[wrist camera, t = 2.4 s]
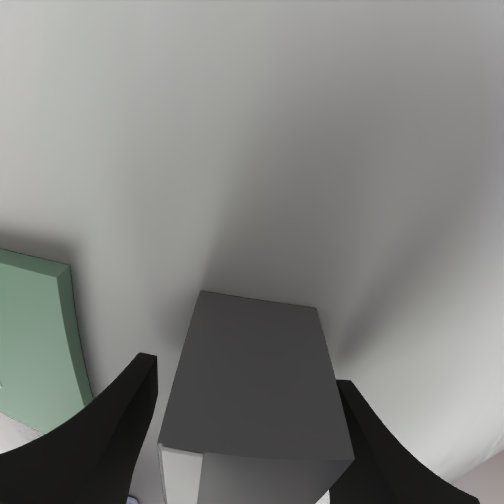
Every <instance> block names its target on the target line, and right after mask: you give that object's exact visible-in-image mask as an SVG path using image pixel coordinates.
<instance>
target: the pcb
mask: <svg viewBox="0 0 504 504" xmlns="http://www.w3.org/2000/svg"><path fill="white" fill-rule="evenodd" d="M91 401H93V397H92V393H91V389H90V385H89V381H88V377H87V372H86V368H85V363H84V358H83V354H82V349H81V343H80V338H79V332H78V326H77V320H76V313H75V306H74V299H73V291H72V282H71V272H70V265H67V264H62V263H58V262H53V261H49V260H45V259H40V258H36V257H32V256H28V255H23V254H19V253H15V252H11V251H7V250H3V249H0V412H1V413H3V414H5V415H6V416H8V417H10V418H12V419H14V420H16V421H18V422H20V423H22V424H24V425H27V426H29V427H31V428H33V429H35V430H37V431H40V432H42V433H44V434H47V433H48V432H50V431H52V430H53V429H55V428H56V427H58V426H60V425H61V424H63V423H64V422H66V421H67V420H69V419H70V418H71V417H73V416H74V415H76V414H77V413H78V412H79V411H81V410H82V409H83V408H84V407H86V406H87V405H88V404H89V403H90V402H91Z"/></svg>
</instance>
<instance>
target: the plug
mask: <svg viewBox="0 0 504 504" xmlns="http://www.w3.org/2000/svg"><path fill="white" fill-rule="evenodd" d="M157 445H158V455H159V464H160V472H161V480H162V488H163V495H164V501H165V504H315V503H316V502H317V501H318V500H319V499H320V498H321V497H322V496H323V495H324V494H325V493H326V492H327V491H328V489H329V488H330V487H331V486H332V485H333V484H334V483H335V482H336V481H337V480H338V478H339V477H340V476H341V475H342V474H343V473H344V472H345V470H346V469H347V468H348V467H349V466H350V464H351V463H352V462H353V461H354V460H355V457H354V453H353V448H352V444H351V440H350V435H349V431H348V427H347V423H346V419H345V415H344V411H343V407H342V402H341V399H340V395H339V391H338V387H337V383H336V379H335V375H334V371H333V368H332V364H331V360H330V356H329V353H328V349H327V345H326V342H325V338H324V334H323V331H322V327H321V324H320V320H319V316H318V313H317V309H316V308H312V307H304V306H297V305H290V304H283V303H276V302H269V301H262V300H255V299H249V298H242V297H236V296H230V295H224V294H218V293H212V292H206V291H200V293H199V296H198V299H197V303H196V306H195V309H194V313H193V316H192V319H191V323H190V326H189V329H188V333H187V336H186V340H185V343H184V347H183V350H182V354H181V357H180V361H179V364H178V368H177V371H176V375H175V378H174V382H173V386H172V389H171V393H170V397H169V400H168V404H167V408H166V412H165V415H164V419H163V423H162V427H161V431H160V434H159V438H158V442H157Z"/></svg>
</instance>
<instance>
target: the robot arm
mask: <svg viewBox="0 0 504 504" xmlns="http://www.w3.org/2000/svg"><path fill="white" fill-rule="evenodd" d="M336 383H337V387H338V391H339V395H340V399H341V402H342V407H343V411H344V415H345V419H346V423H347V427H348V431H349V435H350V440H351V444H352V448H353V453H354V457H355V460H354V461H353V462H352V463H351V464H350V466H349V467H348V468H347V469H346V470H345V472H344V473H343V474H342V475H341V476H340V477H339V478H338V480H337V481H336V482H335V483H334V484H333V485H332V486H331V487H330V488H329V494H330V504H480V502H479V500H478V499H477V498H476V497H474V496H471V495H469V494H467V493H465V492H463V491H461V490H459V489H457V488H456V487H454V486H452V485H451V484H449V483H448V482H446V481H444V480H443V479H441V478H440V477H439V476H437V475H436V474H434V473H433V472H432V471H430V470H429V469H428V468H427V467H425V466H424V465H423V464H422V463H421V462H419V461H418V460H417V459H416V458H415V457H414V456H413V455H412V454H411V453H410V452H409V451H407V450H406V449H405V448H404V447H403V446H402V444H401V443H400V442H399V441H398V440H397V439H396V438H395V437H394V436H393V435H392V433H391V432H390V431H389V430H388V429H387V428H386V426H385V425H384V424H383V423H382V421H381V420H380V419H379V418H378V416H377V415H376V414H375V412H374V411H373V410H372V408H371V407H370V406H369V404H368V403H367V402H366V400H365V399H364V398H363V396H362V395H361V393H360V392H359V391H358V389H357V388H356V387H355V385H354V384H353V383H352V381H351V380H336ZM157 396H158V375H157V356H155V355H150V354H146V353H141V352H140V353H139V354H137V356H136V357H135V358H134V359H133V360H132V361H131V363H130V364H129V365H128V366H127V367H126V368H125V369H124V370H123V371H122V373H121V374H120V375H119V376H118V377H117V378H116V379H115V380H114V381H113V382H112V383H111V384H110V385H109V386H108V387H107V388H106V389H105V390H104V391H103V392H102V393H101V394H99V395H98V396H97V397H96V398H95V399H94V400H93V401H91V402H90V403H89V404H88V405H87V406H86V407H84V408H83V409H82V410H81V411H79V412H78V413H77V414H76V415H74V416H73V417H71V418H70V419H69V420H67V421H66V422H64V423H63V424H61V425H60V426H58V427H56V428H55V429H53V430H52V431H50V432H48V433H47V434H45V435H43V436H41V437H39V438H37V439H35V440H33V441H31V442H29V443H27V444H25V445H23V446H21V447H18V448H16V449H13V450H11V451H8V452H5V453H2V454H0V504H138V502H137V500H136V499H134V498H131V497H128V493H129V488H130V483H131V479H132V474H133V471H134V468H135V464H136V461H137V459H138V456H139V453H140V450H141V447H142V445H143V442H144V439H145V436H146V434H147V431H148V428H149V425H150V423H151V420H152V417H153V413H154V409H155V404H156V400H157Z"/></svg>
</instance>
